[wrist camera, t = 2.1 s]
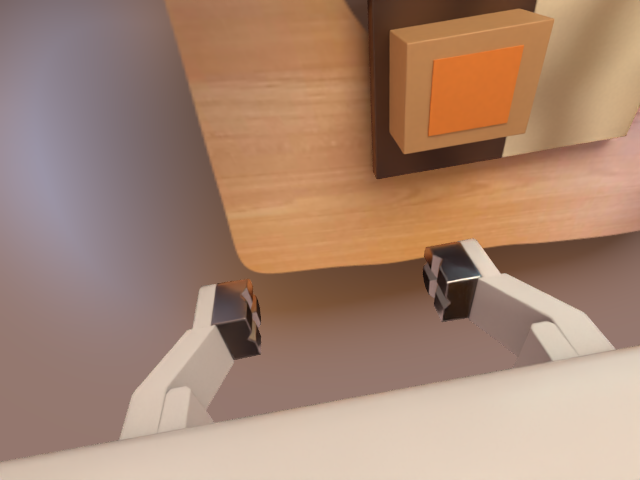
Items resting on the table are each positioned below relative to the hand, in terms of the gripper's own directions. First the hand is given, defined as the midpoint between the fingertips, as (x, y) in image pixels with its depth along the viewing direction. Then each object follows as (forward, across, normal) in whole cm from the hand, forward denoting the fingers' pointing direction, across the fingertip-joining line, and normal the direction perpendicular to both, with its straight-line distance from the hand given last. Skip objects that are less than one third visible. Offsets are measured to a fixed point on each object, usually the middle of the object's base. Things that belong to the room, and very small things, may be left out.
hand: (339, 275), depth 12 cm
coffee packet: (+16, -10, 0) cm, 19 cm away
